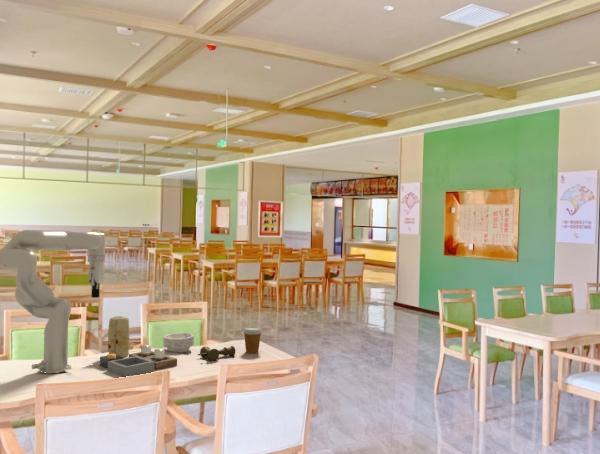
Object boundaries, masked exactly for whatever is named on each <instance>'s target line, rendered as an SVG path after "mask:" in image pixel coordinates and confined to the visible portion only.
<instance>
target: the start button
mask: <svg viewBox="0 0 600 454" xmlns="http://www.w3.org/2000/svg"><path fill="white" fill-rule="evenodd" d="M106 356H107V358H109V359H111V358H116V354H109V353H108V354H107V355H106Z"/></svg>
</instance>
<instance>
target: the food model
mask: <svg viewBox="0 0 600 454" xmlns="http://www.w3.org/2000/svg"><path fill="white" fill-rule="evenodd" d="M108 321H109V322H108V331H107V350H108V354H116V355H118V356H121V357H123V358H128V357H129V354H130V352H129V351H130V319H129V318H128V317H126V316H122V315H121V316H120V315H119V316H114V317H111V318H109V319H108Z"/></svg>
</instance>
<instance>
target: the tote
mask: <svg viewBox="0 0 600 454" xmlns="http://www.w3.org/2000/svg"><path fill="white" fill-rule="evenodd" d="M154 365H155V362H154V361H151V360H148V359H145V358H142V357H138V356H134V357H129V356H128V357H124V358H123V359H118V360H112V361H108V369H107V371H108V372H110V373H113V374H115V375H118V376H120V377H123V376H129V377H131V376H130V375H133V376H138V375H142V374H147V373H152V372H154V371H155V369H154Z"/></svg>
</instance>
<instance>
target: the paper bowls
mask: <svg viewBox="0 0 600 454" xmlns="http://www.w3.org/2000/svg"><path fill="white" fill-rule="evenodd" d="M194 337H195V336H194V334H192V333H189V332H187V333H186V332H185V333H184V332H175V333H167V334H165V335H163V339H162V341H163V347H164V348H166V349H167V351H169V352H174V353H177V354H179V353H180V354H181V353H186V352H188V351H189V350H190V349H191V347H192V346H194V343H195V338H194Z"/></svg>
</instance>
